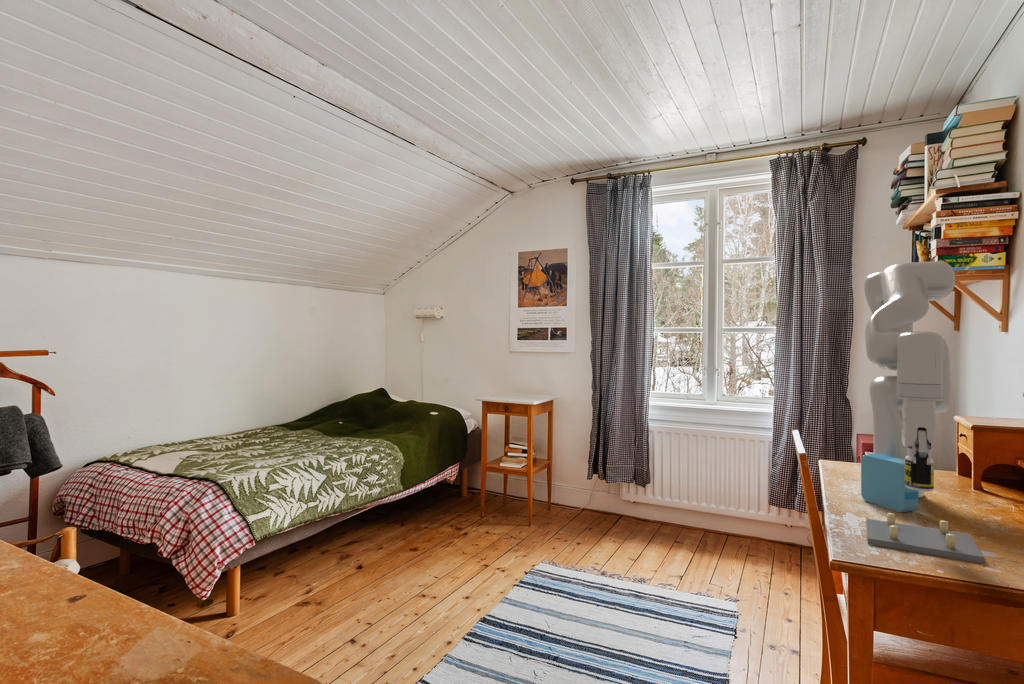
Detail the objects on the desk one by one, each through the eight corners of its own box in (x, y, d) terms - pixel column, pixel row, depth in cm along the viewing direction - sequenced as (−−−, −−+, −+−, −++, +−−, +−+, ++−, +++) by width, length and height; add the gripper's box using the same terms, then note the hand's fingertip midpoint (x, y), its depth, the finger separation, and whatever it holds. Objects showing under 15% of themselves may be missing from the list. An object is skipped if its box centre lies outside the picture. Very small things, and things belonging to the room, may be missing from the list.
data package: (919, 512, 129) (919, 462, 129) (903, 514, 128) (903, 464, 128) (875, 498, 141) (874, 452, 141) (860, 499, 140) (860, 453, 140)
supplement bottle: (899, 487, 112) (899, 446, 112) (913, 484, 114) (913, 445, 114) (925, 493, 107) (925, 451, 107) (939, 490, 109) (939, 449, 109)
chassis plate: (866, 523, 121) (866, 507, 121) (969, 539, 112) (969, 521, 112) (867, 543, 110) (867, 525, 110) (983, 563, 100) (983, 543, 100)
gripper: (894, 388, 120) (894, 469, 120) (899, 394, 105) (899, 487, 105) (937, 389, 116) (937, 474, 116) (948, 396, 101) (948, 493, 101)
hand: (919, 479), depth 110 cm, fingers closed on supplement bottle, 4 cm apart
